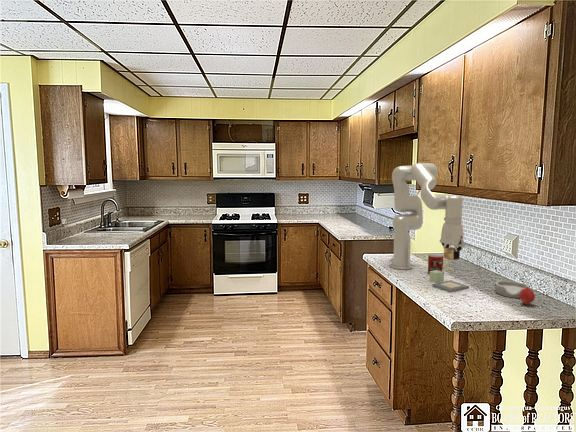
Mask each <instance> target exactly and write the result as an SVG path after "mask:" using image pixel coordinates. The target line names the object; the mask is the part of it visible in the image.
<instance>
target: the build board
mask: <svg viewBox="0 0 576 432" xmlns="http://www.w3.org/2000/svg"><path fill="white" fill-rule="evenodd" d="M431 286H432V287H433V288H436V289H438V290H442V291H445V292H446V293H447V292H449V293H454V292H457V291H464V290H469V289H470V286H469V285H466V284H464V283H459V282H457V281H453V280H447V281H446V280H445V281H443V282H438V283H436V282H434V283H432V285H431Z"/></svg>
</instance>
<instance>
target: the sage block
mask: <svg viewBox="0 0 576 432" xmlns="http://www.w3.org/2000/svg"><path fill="white" fill-rule="evenodd" d="M428 275H429V277H428V279H429V280H428V281H430V282H433V283H440V282H445V281H444V280H445V279H444V278H445V277H444V276H445V272H444V271H443V272H442V271H438V270H434V271H430V273H429V274H428Z"/></svg>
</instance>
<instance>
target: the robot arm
mask: <svg viewBox="0 0 576 432" xmlns="http://www.w3.org/2000/svg"><path fill="white" fill-rule="evenodd" d="M437 175H438V167H437V166H436V165H435V164H434V163H432V162H417V163H414V164H413V165H400V166H397V167H395V168H394V169H393V171H392V173H391V180H392V185H393V193H394V195H393V197H394V208H395V211H396V212H399V213H401V214H397V215H395V216H394V217H393V219H392V226H393V227H392V228H393V257H391V258H390V259H389V261H390V262H391V264H390V267H391V268H392V269H394V270H395V269H396V270H402V271H405V270H412V269H413V264H411V244H412V243H411V235H410V233H409V231H417V230H420V229H421V228H422V227H423V222H424V221H423V219H424V217H423V203H424V205H425V206H426V207H427V209H430V210H433V211H435V210H436V211H439V210H444V211H445V212H444V213H445V214H444V218H443V220H444V223H442V227H441V232H440V239H439V243H440V244H441V246H442V247H443V249H444V248H449V247H451V246H454V247H453V248H455V251H454V259H456V260H460V252H461V251H462V250H463V249H464V248H465V247H466V246H467V245H466V242H465V241H464V239H465V238H464V227H463V224H462V223H463V222H462V221H463V220H462V219H463V204H464V203H463V202H464V201H463V200H464V198H463V197H462V196H461V195H453V194H447V193H443V194H442V193H441V194H437V193H436V194H433V193H432V191H431V190H433V189H434V188H435V187H436V185H437V184H438V183H437V182H438V180H437V179H436V176H437ZM407 181H415V182H416V183H417V184H418V185H419V186H420V188H421V189H420V196H418V195H410V186H409V185H408V183H407Z"/></svg>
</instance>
